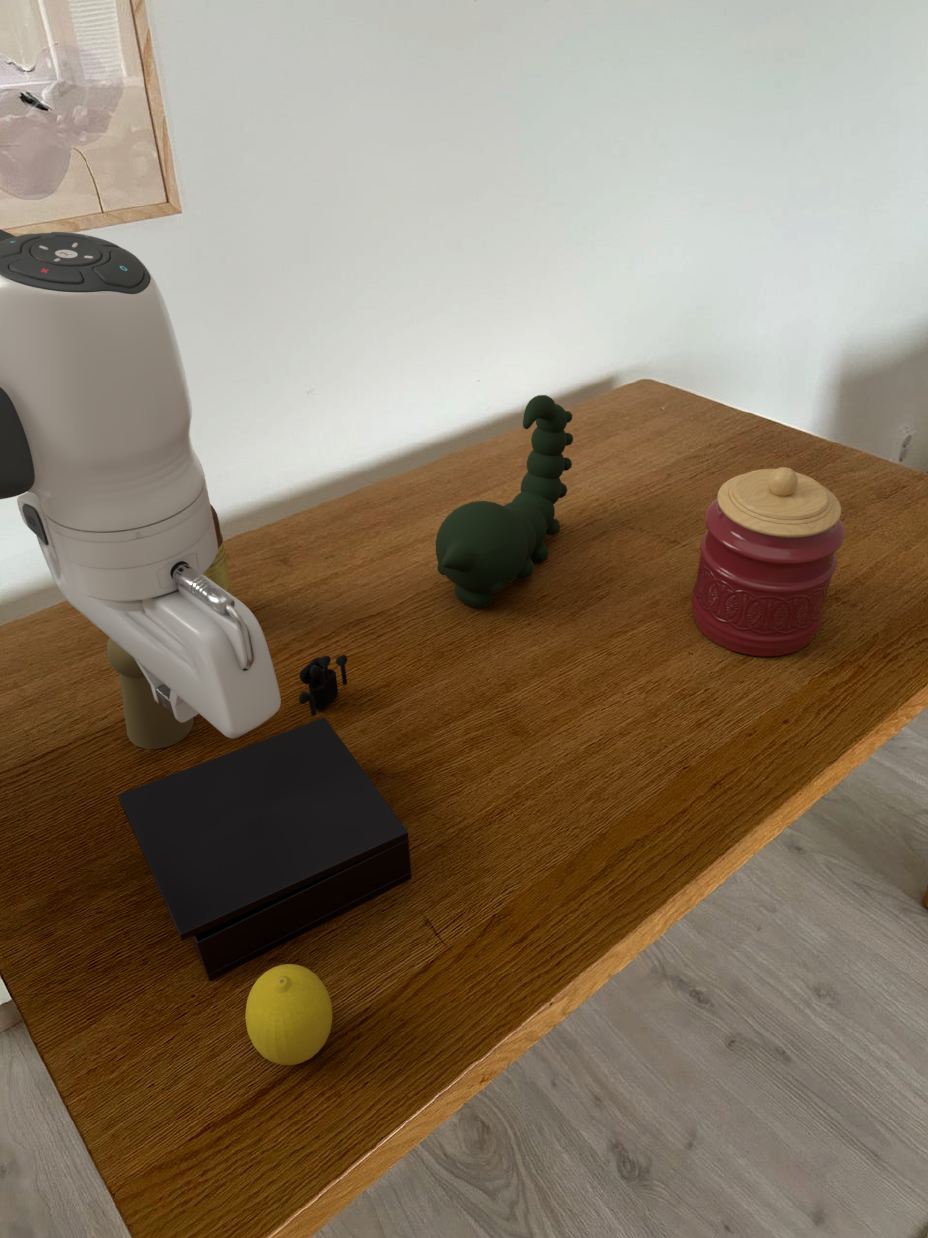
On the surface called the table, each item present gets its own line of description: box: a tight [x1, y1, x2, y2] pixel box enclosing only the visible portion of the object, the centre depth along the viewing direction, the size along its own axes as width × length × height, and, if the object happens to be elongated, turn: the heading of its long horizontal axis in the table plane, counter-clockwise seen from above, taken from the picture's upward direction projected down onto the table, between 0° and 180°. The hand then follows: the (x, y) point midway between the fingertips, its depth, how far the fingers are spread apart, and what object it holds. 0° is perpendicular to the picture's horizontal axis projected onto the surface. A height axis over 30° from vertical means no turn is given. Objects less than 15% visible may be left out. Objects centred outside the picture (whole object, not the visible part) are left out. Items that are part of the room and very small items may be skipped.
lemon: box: [244, 963, 334, 1066], centre depth 64 cm, size 6×6×8 cm
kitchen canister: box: [691, 466, 846, 657], centre depth 96 cm, size 13×13×18 cm
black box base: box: [189, 838, 412, 982], centre depth 77 cm, size 17×15×5 cm
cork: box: [106, 637, 195, 750], centre depth 87 cm, size 6×6×11 cm
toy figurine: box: [435, 394, 574, 609], centre depth 103 cm, size 9×19×25 cm
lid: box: [117, 716, 409, 942], centre depth 75 cm, size 18×15×1 cm
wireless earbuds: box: [298, 654, 348, 717], centre depth 91 cm, size 7×2×5 cm, turn 149°
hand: (179, 707), depth 65 cm, fingers closed
